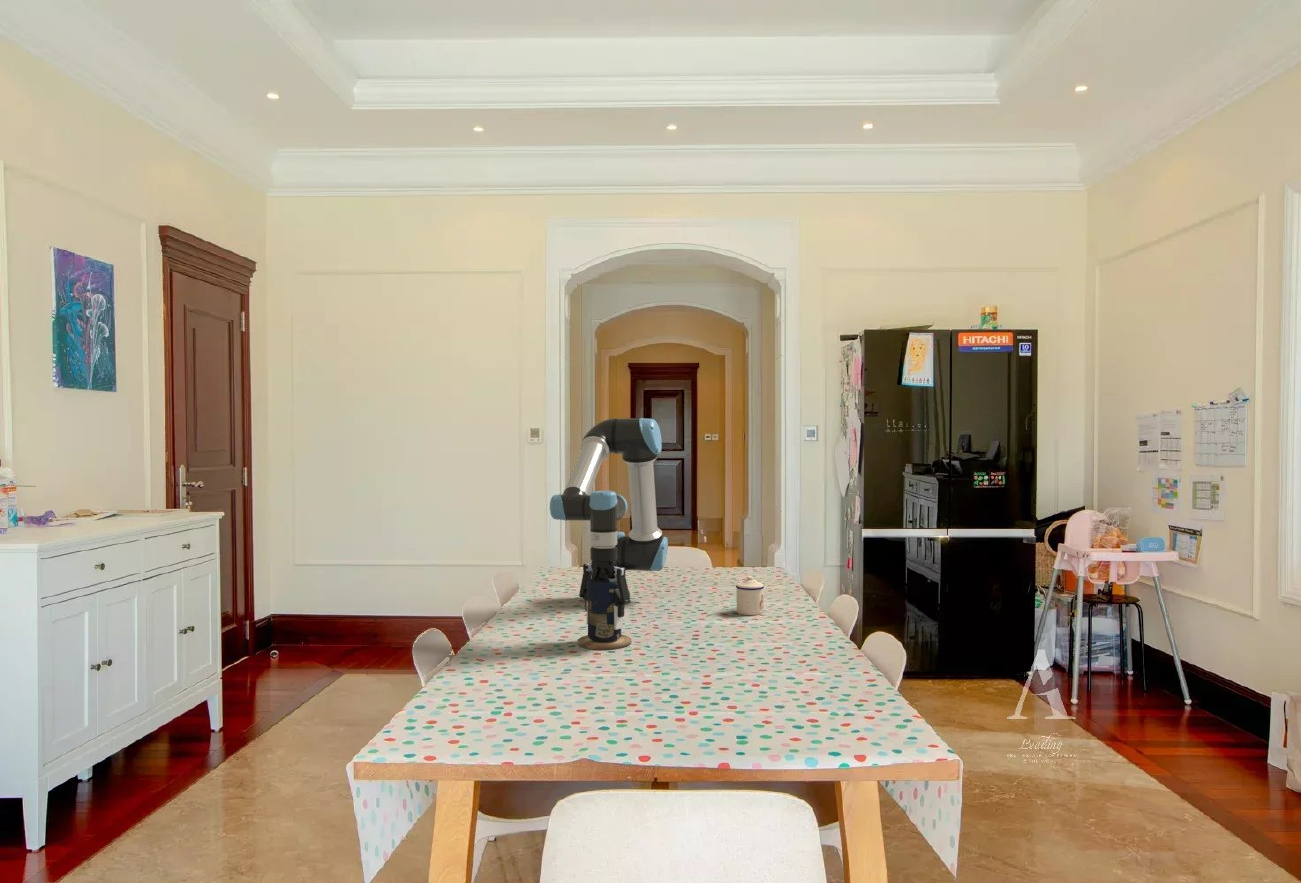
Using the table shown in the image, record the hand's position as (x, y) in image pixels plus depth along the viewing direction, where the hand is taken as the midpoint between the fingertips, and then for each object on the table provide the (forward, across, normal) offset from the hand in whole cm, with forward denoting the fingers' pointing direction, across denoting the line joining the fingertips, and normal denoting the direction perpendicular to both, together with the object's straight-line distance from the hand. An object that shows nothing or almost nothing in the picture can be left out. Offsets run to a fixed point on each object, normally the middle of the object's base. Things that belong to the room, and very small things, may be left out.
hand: (604, 625), depth 235 cm
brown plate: (+5, 0, 0) cm, 5 cm away
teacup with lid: (+5, +13, +57) cm, 59 cm away
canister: (+4, 0, 0) cm, 4 cm away
